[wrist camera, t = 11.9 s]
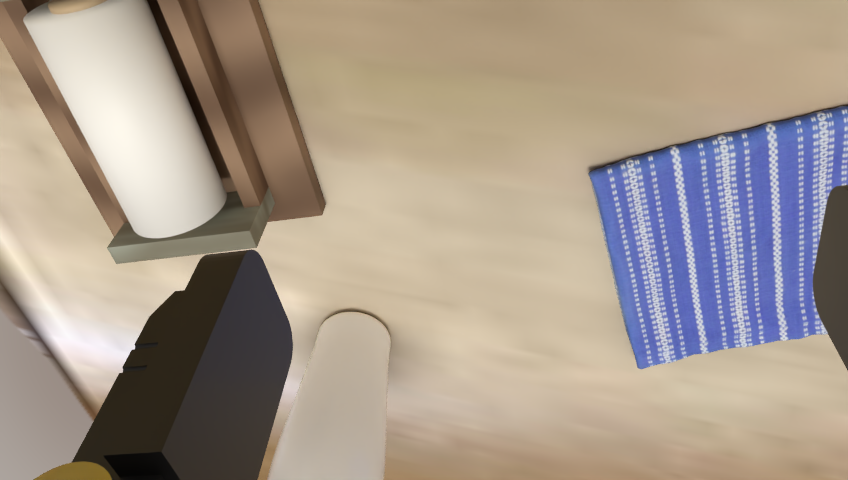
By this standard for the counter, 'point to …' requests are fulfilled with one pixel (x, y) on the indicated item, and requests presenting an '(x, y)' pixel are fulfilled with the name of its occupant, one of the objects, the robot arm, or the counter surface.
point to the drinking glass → (339, 406)
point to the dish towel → (721, 235)
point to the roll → (130, 110)
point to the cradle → (216, 116)
